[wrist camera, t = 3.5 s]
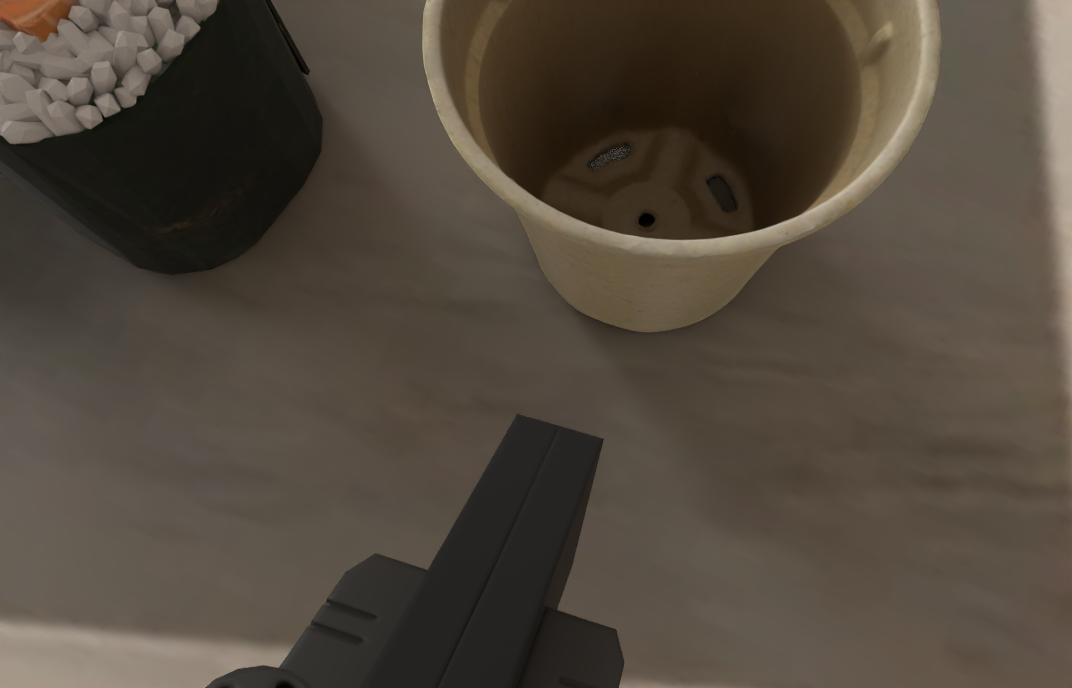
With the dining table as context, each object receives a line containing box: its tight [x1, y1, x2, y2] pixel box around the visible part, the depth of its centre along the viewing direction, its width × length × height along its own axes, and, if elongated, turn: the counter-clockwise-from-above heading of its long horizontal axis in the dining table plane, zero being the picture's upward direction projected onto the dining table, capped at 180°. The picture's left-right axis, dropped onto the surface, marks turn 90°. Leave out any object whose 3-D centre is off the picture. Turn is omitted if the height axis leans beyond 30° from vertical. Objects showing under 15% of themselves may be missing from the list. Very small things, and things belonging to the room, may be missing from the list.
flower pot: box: [422, 0, 941, 332], centre depth 20 cm, size 9×9×9 cm
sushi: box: [0, 0, 322, 275], centre depth 22 cm, size 8×8×8 cm
